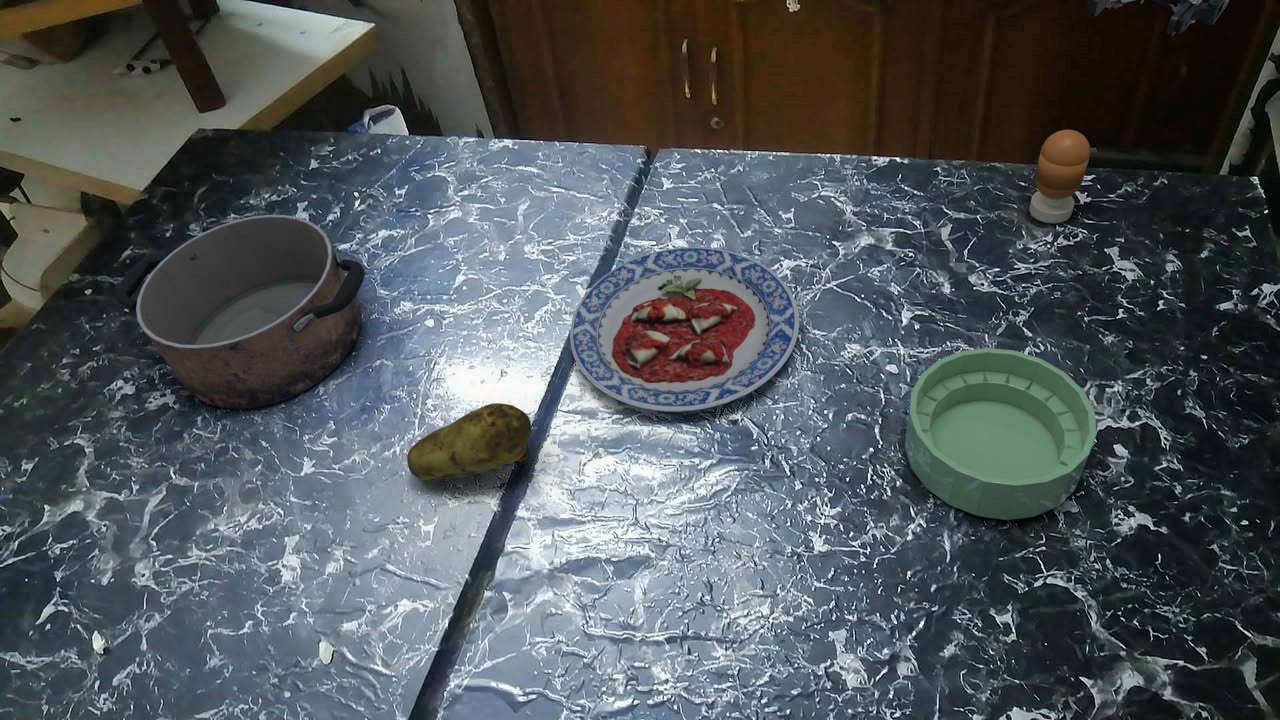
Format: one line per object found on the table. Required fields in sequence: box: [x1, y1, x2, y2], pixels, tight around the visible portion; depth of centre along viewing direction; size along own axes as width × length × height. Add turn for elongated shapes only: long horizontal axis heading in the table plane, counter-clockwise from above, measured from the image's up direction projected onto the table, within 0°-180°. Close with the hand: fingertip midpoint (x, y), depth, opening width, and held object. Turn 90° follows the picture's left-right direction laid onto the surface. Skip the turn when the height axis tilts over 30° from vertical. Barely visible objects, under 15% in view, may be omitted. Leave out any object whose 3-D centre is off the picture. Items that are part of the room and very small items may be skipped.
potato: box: [406, 402, 532, 482], centre depth 94 cm, size 8×13×8 cm, turn 75°
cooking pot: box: [114, 214, 366, 410], centre depth 110 cm, size 30×22×11 cm
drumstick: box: [1028, 129, 1091, 224], centre depth 109 cm, size 5×5×11 cm
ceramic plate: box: [569, 246, 800, 413], centre depth 105 cm, size 26×26×3 cm
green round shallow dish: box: [904, 347, 1098, 521], centre depth 88 cm, size 16×16×6 cm
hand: (1131, 17), depth 103 cm, fingers open, 8 cm apart
